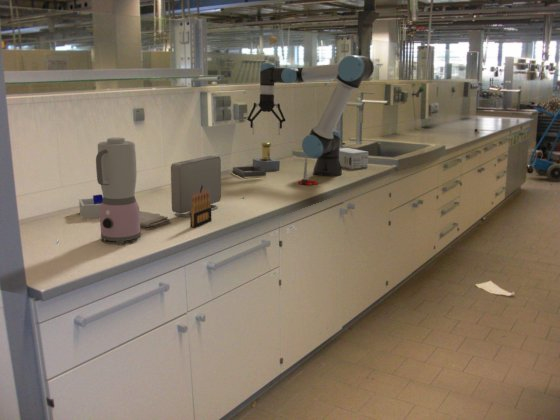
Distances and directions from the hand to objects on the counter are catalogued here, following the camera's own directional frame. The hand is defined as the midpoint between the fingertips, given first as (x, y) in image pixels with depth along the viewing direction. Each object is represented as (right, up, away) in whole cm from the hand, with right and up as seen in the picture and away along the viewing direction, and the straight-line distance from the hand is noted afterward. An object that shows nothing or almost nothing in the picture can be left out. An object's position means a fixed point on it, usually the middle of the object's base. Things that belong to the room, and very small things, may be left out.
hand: (266, 134), depth 295 cm
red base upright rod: (+21, -28, -26) cm, 44 cm away
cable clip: (-57, -42, -89) cm, 113 cm away
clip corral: (-57, -42, -89) cm, 113 cm away
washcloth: (-41, -45, -100) cm, 117 cm away
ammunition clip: (-20, -45, -100) cm, 112 cm away
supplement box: (+48, -15, +27) cm, 57 cm away
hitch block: (0, -19, +5) cm, 20 cm away
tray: (-9, -22, -8) cm, 25 cm away
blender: (-44, -50, -120) cm, 137 cm away
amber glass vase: (0, -18, +4) cm, 19 cm away
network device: (-24, -41, -82) cm, 95 cm away
